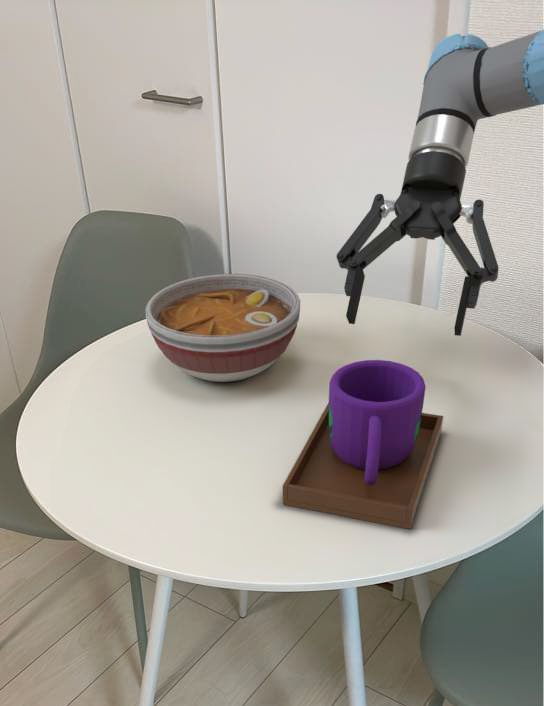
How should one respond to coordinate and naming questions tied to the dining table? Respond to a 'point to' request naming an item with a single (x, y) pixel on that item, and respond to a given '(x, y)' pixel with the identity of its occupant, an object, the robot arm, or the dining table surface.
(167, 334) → the bowl
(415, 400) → the mug
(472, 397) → the dining table surface
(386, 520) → the tray
